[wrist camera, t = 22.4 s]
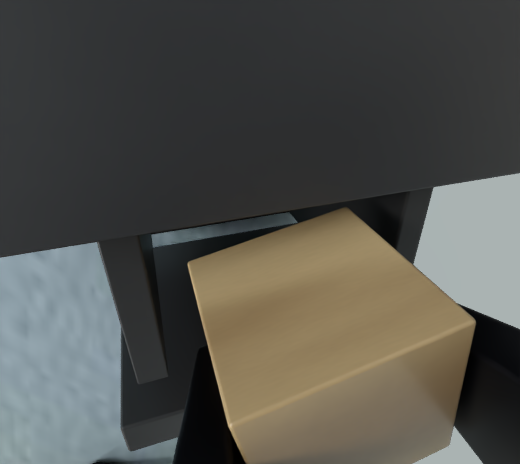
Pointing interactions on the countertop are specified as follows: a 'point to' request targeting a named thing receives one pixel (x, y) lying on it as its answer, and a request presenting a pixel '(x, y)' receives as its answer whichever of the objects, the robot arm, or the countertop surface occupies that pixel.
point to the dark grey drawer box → (242, 109)
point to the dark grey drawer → (186, 309)
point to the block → (331, 346)
